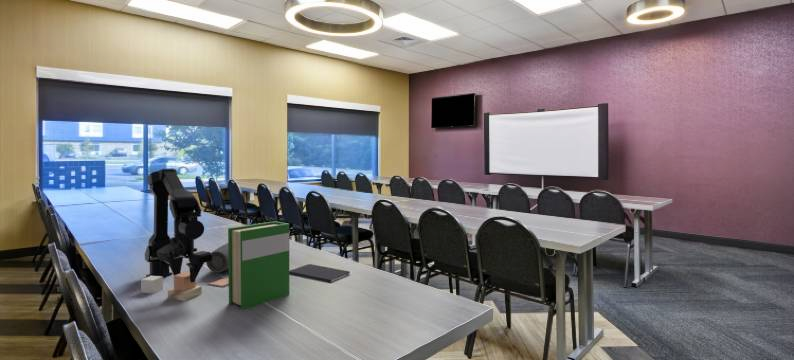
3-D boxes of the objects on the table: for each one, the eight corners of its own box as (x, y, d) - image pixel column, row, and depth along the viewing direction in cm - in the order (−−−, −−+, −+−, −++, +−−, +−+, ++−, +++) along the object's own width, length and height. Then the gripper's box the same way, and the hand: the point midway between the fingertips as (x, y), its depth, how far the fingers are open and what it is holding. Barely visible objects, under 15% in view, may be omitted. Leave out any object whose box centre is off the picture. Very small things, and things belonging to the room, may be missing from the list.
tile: (207, 284, 149) (207, 283, 149) (222, 279, 156) (222, 278, 156) (222, 287, 147) (222, 286, 147) (236, 281, 153) (236, 280, 153)
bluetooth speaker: (229, 276, 160) (228, 250, 160) (205, 275, 161) (204, 249, 160) (251, 260, 183) (250, 238, 183) (229, 260, 183) (229, 237, 183)
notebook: (287, 275, 165) (331, 284, 154) (287, 271, 165) (331, 279, 154) (309, 267, 176) (351, 275, 166) (309, 263, 176) (351, 271, 165)
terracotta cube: (174, 289, 137) (173, 275, 136) (185, 284, 141) (185, 271, 140) (184, 291, 135) (183, 277, 134) (195, 286, 139) (195, 273, 139)
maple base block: (167, 299, 136) (167, 290, 135) (185, 292, 142) (184, 283, 142) (185, 302, 133) (185, 292, 133) (201, 295, 140) (201, 286, 140)
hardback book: (242, 309, 127) (242, 231, 125) (228, 304, 131) (228, 228, 130) (289, 294, 141) (289, 223, 139) (275, 289, 145) (275, 221, 144)
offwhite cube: (141, 292, 140) (141, 279, 140) (150, 288, 145) (150, 275, 144) (153, 293, 140) (153, 280, 139) (162, 289, 144) (162, 276, 144)
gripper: (140, 235, 133) (141, 284, 134) (184, 241, 125) (184, 292, 127) (171, 229, 143) (172, 274, 144) (213, 234, 136) (213, 282, 137)
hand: (184, 280), depth 138 cm, fingers open, 7 cm apart
